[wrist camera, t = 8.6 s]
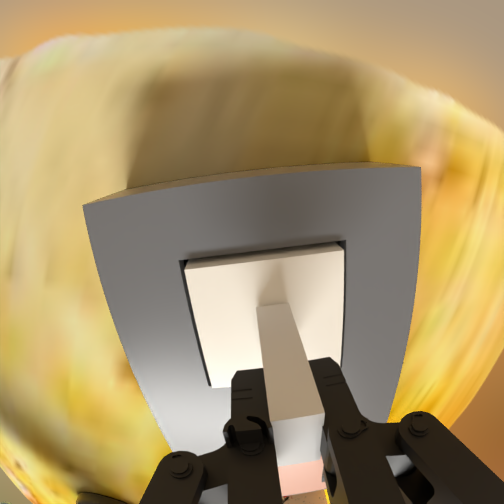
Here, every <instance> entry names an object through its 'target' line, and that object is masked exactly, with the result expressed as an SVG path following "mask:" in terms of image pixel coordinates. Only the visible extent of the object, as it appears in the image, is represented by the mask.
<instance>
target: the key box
mask: <svg viewBox="0 0 504 504" xmlns="http://www.w3.org/2000/svg"><path fill="white" fill-rule="evenodd" d="M83 211H84V216H85V221H86V225H87V230H88V234H89V239H90V243H91V247H92V251H93V255H94V259H95V263H96V266H97V270H98V274H99V277H100V281H101V284H102V287H103V291H104V294H105V297H106V300H107V303H108V307H109V310H110V313H111V316H112V318H113V321H114V324H115V327H116V330H117V333H118V335H119V338H120V341H121V343H122V346H123V348H124V351H125V354H126V356H127V359H128V361H129V363H130V366H131V368H132V371H133V373H134V375H135V378H136V380H137V382H138V384H139V387H140V389H141V391H142V393H143V395H144V398H145V400H146V402H147V404H148V406H149V408H150V410H151V412H152V414H153V416H154V418H155V420H156V422H157V424H158V426H159V428H160V430H161V432H162V434H163V435H164V437H165V439H166V441H167V443H168V444H169V446H170V448H171V450H172V452H176V451H189V452H192V453H194V454H196V455H197V456H199V455H203V454H206V453H209V452H212V451H215V450H217V449H219V448H221V447H222V446H223V445H224V444H225V443H226V442H225V439H224V436H223V433H222V432H223V428H224V425H225V424H226V423H227V421H228V420H229V419H231V387H223V388H212V385H211V381H210V377H209V374H208V370H207V366H206V362H205V358H204V355H203V351H202V347H201V342H200V338H199V334H198V330H197V326H196V322H195V317H194V313H193V308H192V304H191V299H190V295H189V290H188V285H187V280H186V276H185V271H184V269H185V267H186V265H187V263H188V260H189V259H193V258H201V257H209V256H217V255H225V254H234V253H242V252H250V251H258V250H267V249H275V248H283V247H291V246H300V245H308V244H316V243H325V242H333V241H334V242H336V243H337V244H338V245H339V246H340V247H341V248H342V249H343V250H344V301H343V328H342V346H341V361H340V368H341V371H342V373H343V375H344V377H345V380H346V383H347V384H348V386H349V389H350V391H351V393H352V395H353V398H354V400H355V402H356V405H357V407H358V409H359V411H360V413H361V414H362V415H363V416H364V417H366V418H368V419H369V420H370V421H373V422H377V423H387V419H388V416H389V413H390V410H391V406H392V403H393V399H394V396H395V392H396V388H397V385H398V381H399V377H400V373H401V369H402V364H403V360H404V355H405V351H406V346H407V341H408V335H409V330H410V324H411V318H412V312H413V305H414V298H415V291H416V282H417V273H418V262H419V250H420V233H421V167H416V166H408V165H399V164H390V163H379V162H349V163H329V164H313V165H299V166H287V167H276V168H266V169H256V170H247V171H239V172H231V173H223V174H215V175H208V176H201V177H194V178H188V179H181V180H175V181H169V182H163V183H158V184H152V185H147V186H141V187H136V188H131V189H126V190H123V191H120V192H117V193H114V194H111V195H109V196H106V197H103V198H100V199H98V200H95V201H92V202H90V203H87V204H84V205H83ZM326 489H327V488H326ZM321 490H323V489H321ZM316 491H318V490H316ZM311 492H313V491H311ZM305 493H307V492H305ZM299 494H302V493H299ZM293 495H295V494H293ZM286 496H289V495H286Z"/></svg>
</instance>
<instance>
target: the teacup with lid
mask: <svg viewBox="0 0 504 504" xmlns="http://www.w3.org/2000/svg"><path fill="white" fill-rule="evenodd" d="M282 500H283V504H327V501H326V496H325V492H324V489H323V490H318V491H313V492H307V493H302V494H295V495H289V496H282Z"/></svg>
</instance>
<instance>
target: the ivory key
mask: <svg viewBox="0 0 504 504" xmlns="http://www.w3.org/2000/svg"><path fill="white" fill-rule="evenodd" d="M184 271H185V276H186V280H187V285H188V290H189V295H190V299H191V304H192V308H193V313H194V317H195V322H196V326H197V330H198V334H199V338H200V342H201V347H202V351H203V355H204V358H205V362H206V366H207V370H208V374H209V377H210V381H211V385H212V388H223V387H231V379H232V378H233V376H234V374H235V373H236V371H238V370H248V369H257V368H263V363H262V355H261V347H260V338H259V330H258V322H257V314H256V307H262V306H270V305H278V304H285V303H289V305H290V308H291V311H292V314H293V317H294V320H295V323H296V326H297V329H298V332H299V335H300V338H301V341H302V344H303V347H304V350H305V353H306V356H307V359H308V360H314V359H319V358H325V357H331V358H332V359H333V360H334V361H335V362H337V363H338V364H339V366H340V361H341V346H342V328H343V301H344V250H343V249H342V248H341V247H340V246H339V245H338V244H337V243H336V242H334V241H333V242H325V243H316V244H308V245H300V246H291V247H283V248H275V249H267V250H258V251H250V252H242V253H234V254H225V255H217V256H209V257H201V258H193V259H189V260H188V263H187V265H186V267H185V269H184Z"/></svg>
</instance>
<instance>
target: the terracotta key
mask: <svg viewBox="0 0 504 504" xmlns="http://www.w3.org/2000/svg"><path fill="white" fill-rule="evenodd" d="M323 465H324V464H323V460H322V456H321V457H320V460H316V461H311V462H305V463H300V464H293V465H286V466H279V467H278V472H279V479H280V486H281V493H282V496H286V495H293V494H299V493H305V492H311V491H316V490H321V489H326V488H327V487H326V483H325V482H322V472H323Z"/></svg>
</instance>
